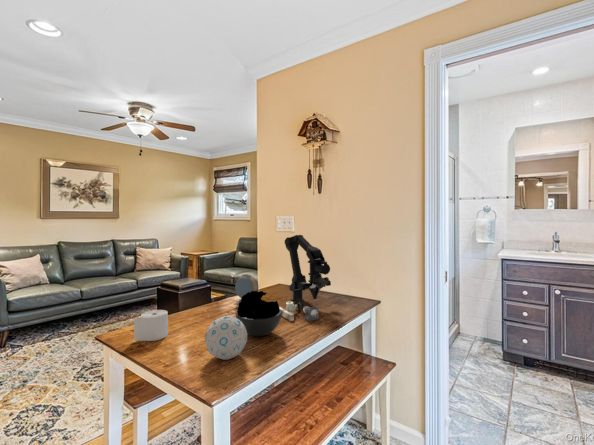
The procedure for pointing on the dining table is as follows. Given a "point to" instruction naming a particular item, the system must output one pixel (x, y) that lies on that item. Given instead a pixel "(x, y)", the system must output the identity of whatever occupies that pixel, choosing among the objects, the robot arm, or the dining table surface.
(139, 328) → the toilet tissue
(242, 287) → the alarm clock
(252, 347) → the dining table surface
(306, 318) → the pipe stand
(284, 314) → the fence
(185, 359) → the dining table surface
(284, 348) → the dining table surface
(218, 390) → the dining table surface
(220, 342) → the puzzle ball
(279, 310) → the bowl of black rocks
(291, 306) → the valve
